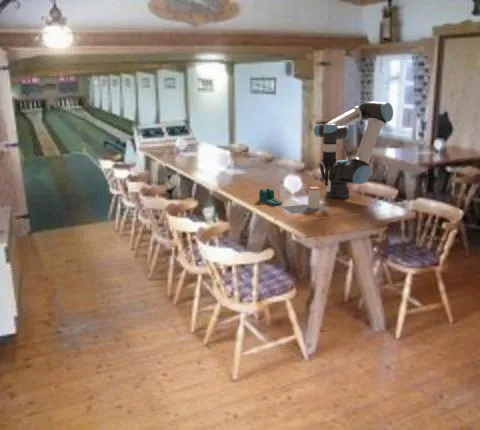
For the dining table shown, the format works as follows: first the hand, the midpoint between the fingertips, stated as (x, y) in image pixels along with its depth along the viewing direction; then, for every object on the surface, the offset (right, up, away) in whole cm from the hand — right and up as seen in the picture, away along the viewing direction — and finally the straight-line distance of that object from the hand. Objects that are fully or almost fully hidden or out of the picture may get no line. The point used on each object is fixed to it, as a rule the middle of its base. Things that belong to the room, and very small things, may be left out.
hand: (328, 191), depth 307 cm
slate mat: (-14, -11, -1) cm, 18 cm away
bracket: (-33, -7, +15) cm, 36 cm away
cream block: (-8, -10, 0) cm, 13 cm away
